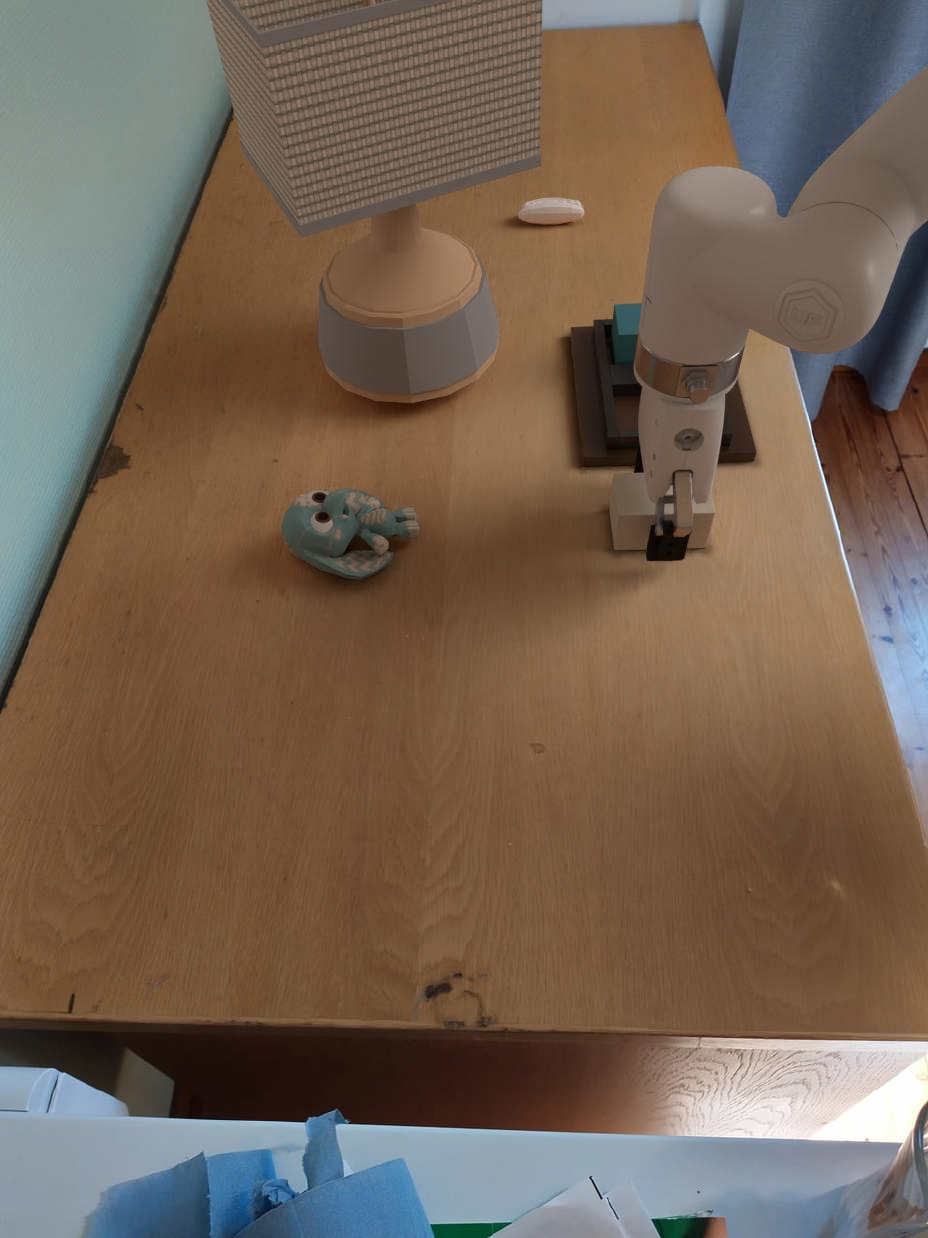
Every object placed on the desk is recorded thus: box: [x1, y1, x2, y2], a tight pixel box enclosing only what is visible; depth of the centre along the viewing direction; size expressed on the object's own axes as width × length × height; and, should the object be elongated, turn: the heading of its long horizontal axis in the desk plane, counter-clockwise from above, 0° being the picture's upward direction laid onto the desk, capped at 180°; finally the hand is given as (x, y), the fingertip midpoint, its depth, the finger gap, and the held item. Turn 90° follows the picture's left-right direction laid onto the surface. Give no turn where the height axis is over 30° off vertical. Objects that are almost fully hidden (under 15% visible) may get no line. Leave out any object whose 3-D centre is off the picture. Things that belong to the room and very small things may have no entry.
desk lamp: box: [205, 0, 544, 404], centre depth 80 cm, size 22×19×37 cm
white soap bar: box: [517, 196, 585, 226], centre depth 108 cm, size 3×8×3 cm, turn 88°
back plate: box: [569, 318, 757, 467], centre depth 89 cm, size 16×20×3 cm
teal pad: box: [611, 302, 642, 365], centre depth 90 cm, size 8×5×4 cm, turn 89°
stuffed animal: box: [280, 488, 421, 581], centre depth 77 cm, size 11×7×12 cm
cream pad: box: [608, 472, 716, 551], centre depth 77 cm, size 8×5×4 cm, turn 89°
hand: (657, 516), depth 78 cm, fingers open, 9 cm apart
